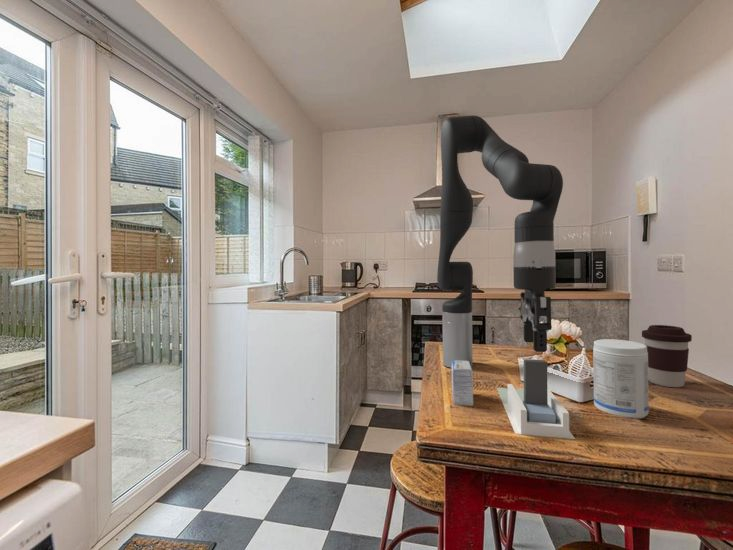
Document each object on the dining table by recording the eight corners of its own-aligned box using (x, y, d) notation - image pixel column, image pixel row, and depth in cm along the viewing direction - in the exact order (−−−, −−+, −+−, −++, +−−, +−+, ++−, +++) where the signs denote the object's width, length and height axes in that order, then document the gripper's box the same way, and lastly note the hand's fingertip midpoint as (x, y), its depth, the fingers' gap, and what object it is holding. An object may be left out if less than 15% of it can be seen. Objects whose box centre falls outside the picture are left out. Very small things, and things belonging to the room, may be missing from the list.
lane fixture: (496, 390, 88) (496, 370, 88) (539, 392, 86) (538, 372, 86) (515, 436, 64) (515, 409, 64) (575, 442, 61) (575, 413, 61)
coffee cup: (700, 386, 88) (700, 328, 88) (677, 392, 85) (677, 331, 85) (655, 375, 98) (655, 322, 97) (633, 380, 94) (633, 325, 94)
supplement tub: (616, 400, 80) (616, 337, 80) (660, 417, 71) (660, 346, 71) (582, 405, 78) (582, 340, 77) (623, 423, 69) (623, 349, 68)
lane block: (522, 417, 70) (522, 359, 70) (546, 419, 69) (546, 360, 69) (529, 431, 65) (529, 367, 64) (555, 433, 64) (555, 368, 63)
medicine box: (473, 408, 77) (473, 369, 77) (452, 407, 78) (452, 368, 78) (470, 395, 85) (469, 360, 85) (451, 394, 86) (451, 359, 85)
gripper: (507, 265, 76) (508, 339, 77) (520, 264, 63) (521, 354, 63) (544, 265, 75) (545, 340, 75) (566, 264, 61) (567, 356, 61)
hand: (534, 346), depth 69 cm, fingers open, 8 cm apart
